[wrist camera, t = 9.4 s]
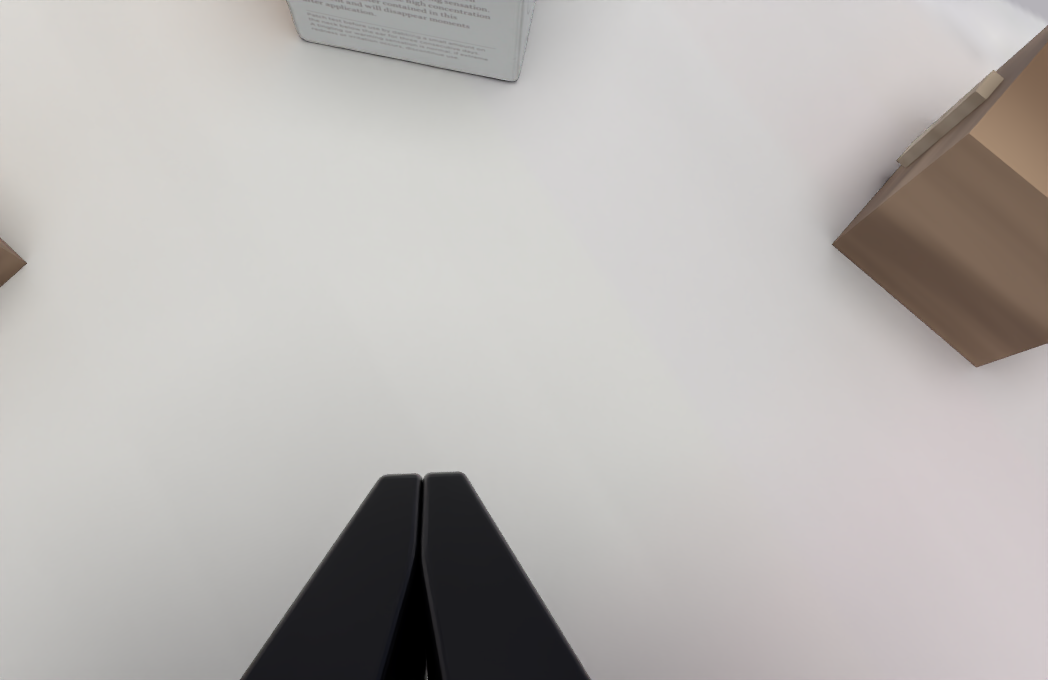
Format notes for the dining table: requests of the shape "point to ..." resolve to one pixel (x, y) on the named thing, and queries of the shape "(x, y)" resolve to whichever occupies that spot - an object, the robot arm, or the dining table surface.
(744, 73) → the dining table surface
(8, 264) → the walnut block seven
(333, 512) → the dining table surface
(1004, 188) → the walnut block one
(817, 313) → the dining table surface
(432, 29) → the small box
